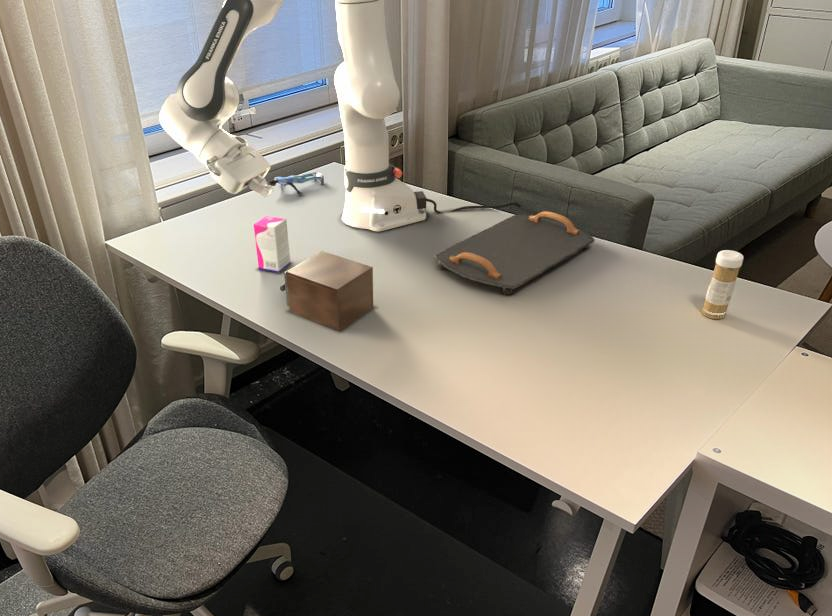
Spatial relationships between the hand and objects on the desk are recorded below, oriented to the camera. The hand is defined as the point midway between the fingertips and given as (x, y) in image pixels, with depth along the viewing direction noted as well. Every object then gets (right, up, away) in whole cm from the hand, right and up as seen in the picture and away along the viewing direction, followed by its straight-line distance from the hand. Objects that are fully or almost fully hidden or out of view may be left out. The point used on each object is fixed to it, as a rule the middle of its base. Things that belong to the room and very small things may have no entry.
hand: (269, 193), depth 161 cm
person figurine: (+3, +12, +48) cm, 49 cm away
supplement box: (0, -16, +7) cm, 17 cm away
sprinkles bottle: (+92, -29, -18) cm, 98 cm away
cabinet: (+14, -27, -11) cm, 33 cm away
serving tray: (+57, -14, +6) cm, 59 cm away
